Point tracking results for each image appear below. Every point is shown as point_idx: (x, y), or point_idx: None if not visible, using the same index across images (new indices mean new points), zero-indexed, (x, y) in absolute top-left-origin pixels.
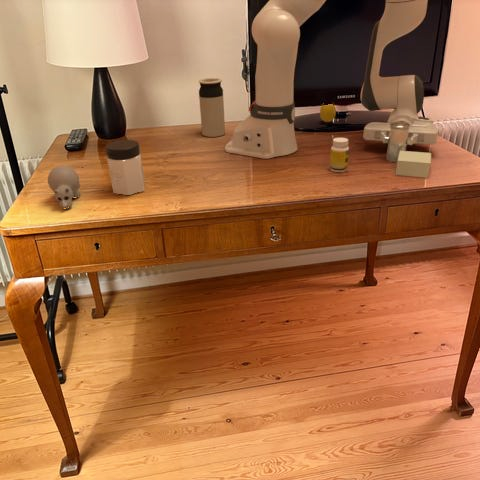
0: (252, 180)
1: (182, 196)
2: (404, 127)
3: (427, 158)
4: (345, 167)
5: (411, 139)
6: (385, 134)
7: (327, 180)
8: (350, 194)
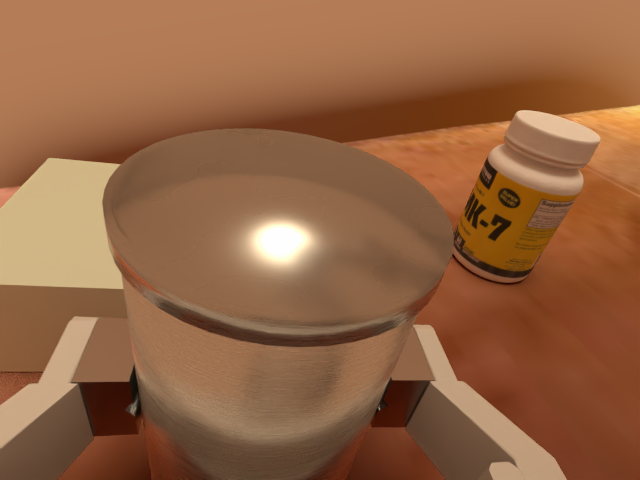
0: (610, 182)
1: (619, 139)
2: (216, 131)
3: (35, 198)
4: (456, 227)
5: (94, 319)
6: (481, 477)
7: (453, 192)
8: (349, 144)
